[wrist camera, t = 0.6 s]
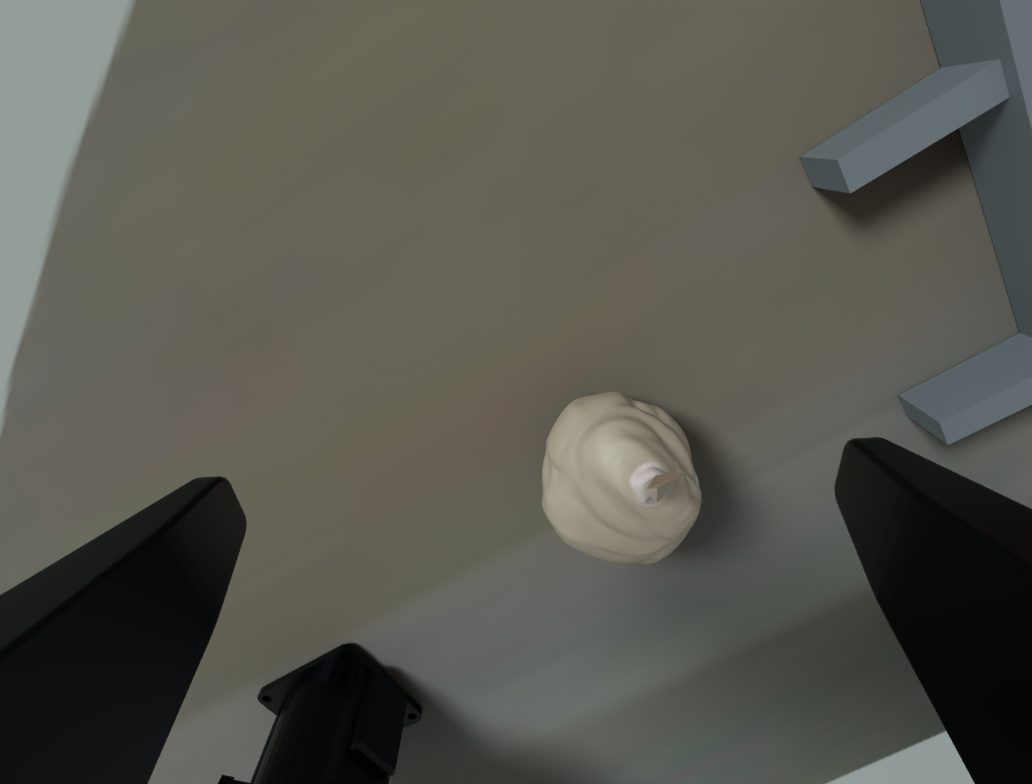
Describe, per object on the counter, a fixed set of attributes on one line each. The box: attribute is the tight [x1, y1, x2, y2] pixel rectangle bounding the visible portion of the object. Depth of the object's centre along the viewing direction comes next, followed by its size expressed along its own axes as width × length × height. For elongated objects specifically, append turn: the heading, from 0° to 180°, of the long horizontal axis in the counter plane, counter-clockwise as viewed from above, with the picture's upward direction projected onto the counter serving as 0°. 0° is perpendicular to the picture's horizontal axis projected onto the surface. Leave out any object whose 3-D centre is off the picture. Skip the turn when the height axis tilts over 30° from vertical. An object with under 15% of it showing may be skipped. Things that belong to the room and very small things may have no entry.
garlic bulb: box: [542, 392, 704, 564], centre depth 21 cm, size 7×6×8 cm
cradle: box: [800, 0, 1032, 445], centre depth 20 cm, size 6×20×3 cm, turn 33°
